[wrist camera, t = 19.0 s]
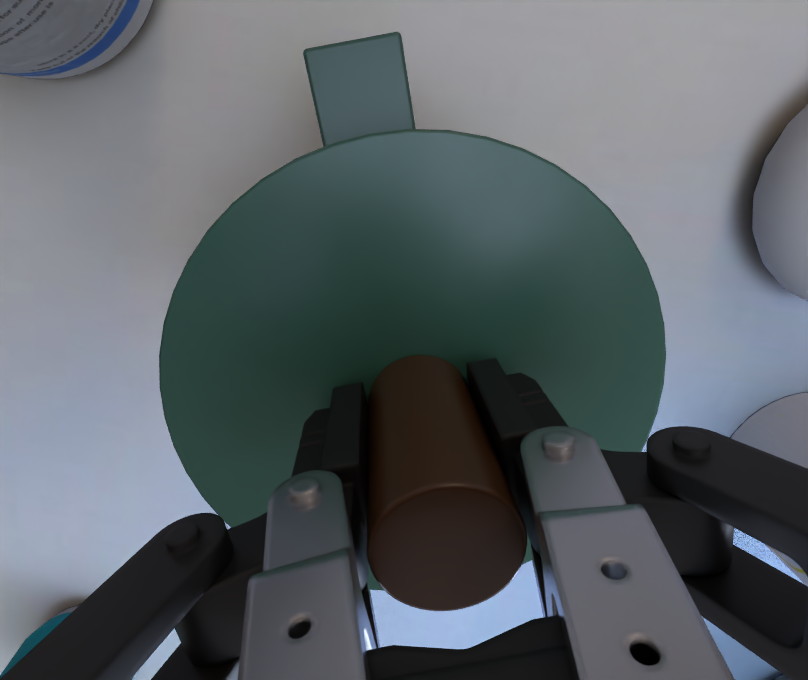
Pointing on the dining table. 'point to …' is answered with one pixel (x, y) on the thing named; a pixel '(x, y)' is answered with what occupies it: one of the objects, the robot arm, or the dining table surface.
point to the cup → (780, 442)
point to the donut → (785, 208)
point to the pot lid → (408, 340)
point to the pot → (360, 87)
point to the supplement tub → (65, 34)
